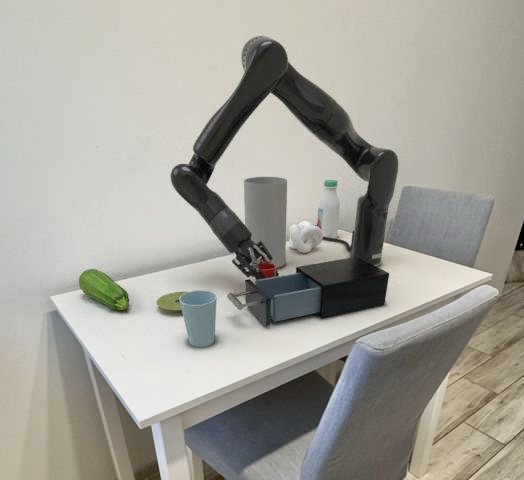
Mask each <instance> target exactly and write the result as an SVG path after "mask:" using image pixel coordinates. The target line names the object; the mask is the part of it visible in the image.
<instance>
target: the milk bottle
mask: <svg viewBox="0 0 524 480" xmlns="http://www.w3.org/2000/svg"><path fill="white" fill-rule="evenodd" d="M323 188H324V190H323V193H322V196H321V198H320V199H319V202H318V209H317V222H316V223H317V227H319V228H320V229H321V231H322V233H323V237H328V238H335V239H337V237H338V233H339V221H340V205H341V204H340V199H339V196H338V192H337V188H338V180H335V179H326V180H324V182H323Z"/></svg>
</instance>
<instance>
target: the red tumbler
mask: <svg viewBox="0 0 524 480" xmlns="http://www.w3.org/2000/svg"><path fill="white" fill-rule="evenodd" d="M257 265H258V267H259V269H260V271H261V272H262V273H263V274H264V275H265V277H266V278H271V277H276V270H277V268H276V265H275V264H272V263H259V264H257ZM254 280H255V281H254V282H255V283H254V284H255V285H256V278H255V277H254Z"/></svg>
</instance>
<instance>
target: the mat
mask: <svg viewBox="0 0 524 480" xmlns="http://www.w3.org/2000/svg"><path fill="white" fill-rule="evenodd" d="M187 292H189V291H174V292H170V293H167V294H164V295H162V296H160V297H159V298H158V299H157V300H156V305H157V306H158V307H159V308H161V309H163V310H168V311H182V309H181V306H180V301H179V298H180V296H181V295H183V294H184V293H187Z"/></svg>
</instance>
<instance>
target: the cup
mask: <svg viewBox="0 0 524 480" xmlns="http://www.w3.org/2000/svg"><path fill="white" fill-rule="evenodd" d="M186 292H187V291H186ZM179 301H180V306H181V309H182V310H181V313H182V317H183V322H184V326H185V329H186V334H187V338H188V341H189V345H191V346H193V347H195V348H204V347H209V346H211V345H213V344H214V342H215V339H216V320H217V319H216V317H217V294H215V292H212V291H209V290H205V289H197V290H190V291H188V292H187V293H184V294H183V295H181V296H180V298H179Z"/></svg>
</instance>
